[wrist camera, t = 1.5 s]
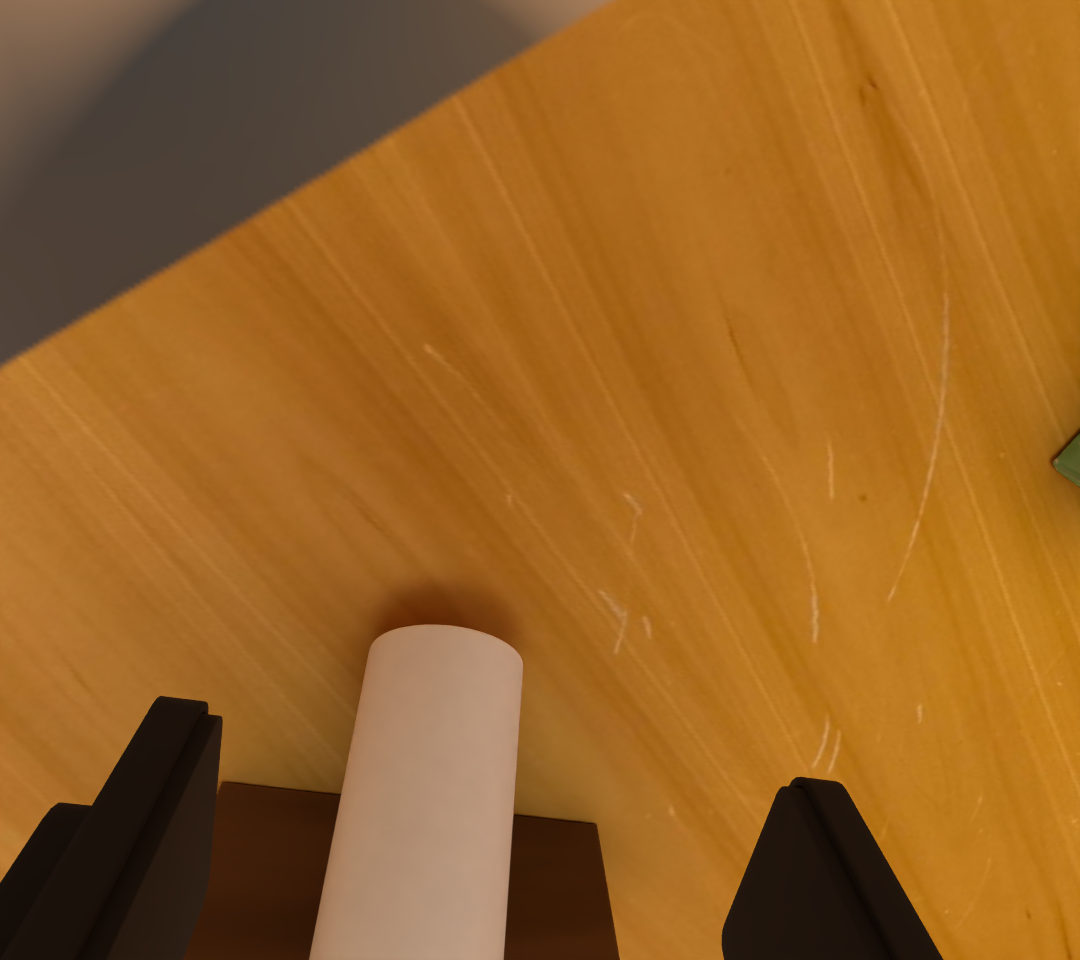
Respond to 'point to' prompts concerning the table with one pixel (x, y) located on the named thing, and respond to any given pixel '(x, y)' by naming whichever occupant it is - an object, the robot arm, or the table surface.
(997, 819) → the table surface
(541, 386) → the table surface
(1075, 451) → the ink box
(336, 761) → the table surface
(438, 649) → the paper roll
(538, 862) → the wooden block
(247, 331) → the table surface
